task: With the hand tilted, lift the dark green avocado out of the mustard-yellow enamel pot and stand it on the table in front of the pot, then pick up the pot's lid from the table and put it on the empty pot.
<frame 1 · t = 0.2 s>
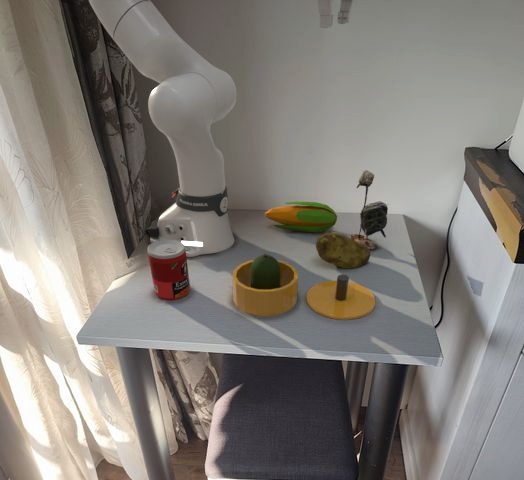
hand: (334, 25, 82), 48 cm above the table, tool pointing down, fingers open, 8 cm apart
canned food: (172, 293, 103), on the table
potato: (341, 265, 113), on the table
lid: (340, 300, 99), point 1 cm above the table
pot: (265, 300, 101), on the table
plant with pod: (363, 247, 121), on the table
avocado: (265, 298, 100), resting on pot
corn: (299, 229, 129), on the table
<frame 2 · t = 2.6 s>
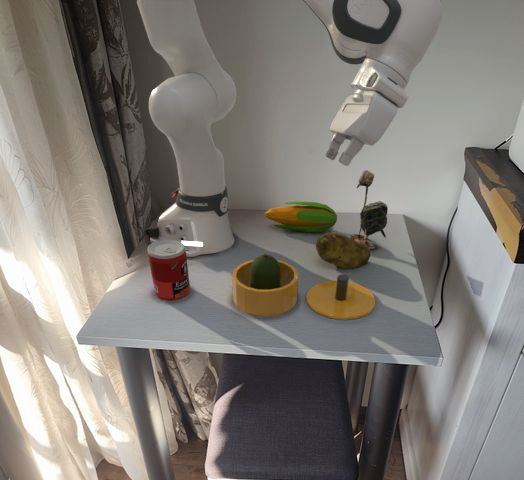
hand: (335, 161, 89), 27 cm above the table, tool tilted 30°, fingers open, 8 cm apart
nothing on the table moved.
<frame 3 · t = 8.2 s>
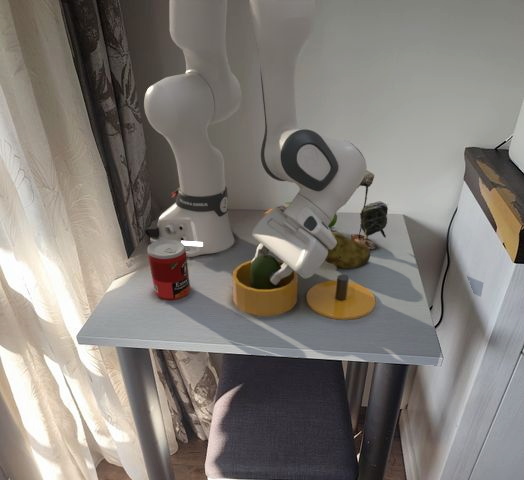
hand: (262, 274, 96), 7 cm above the table, tool tilted 45°, fingers closed on avocado, 6 cm apart
avocado: (265, 298, 100), resting on pot, touching gripper
everything else where it was.
when the fingers open (6 cm above the table, at t = 16.4 s): avocado stays where it is, on the table.
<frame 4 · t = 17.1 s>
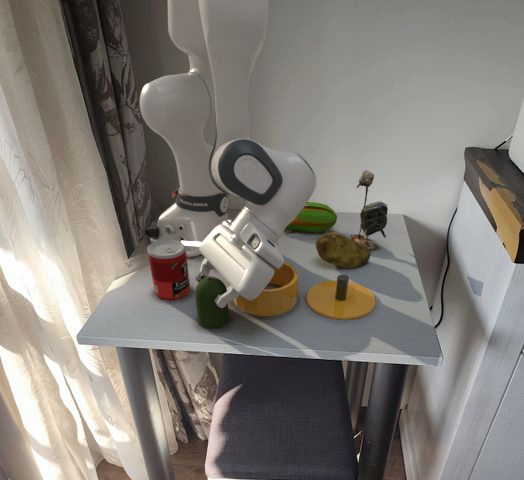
hand: (208, 293, 90), 7 cm above the table, tool tilted 45°, fingers open, 8 cm apart
avocado: (213, 322, 94), on the table
everything else where it was.
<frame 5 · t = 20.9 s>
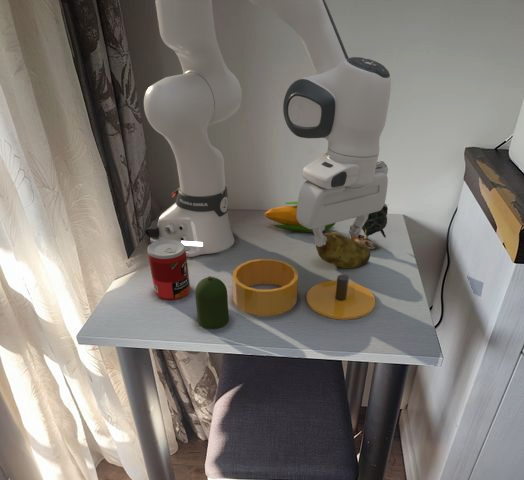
hand: (337, 239, 91), 15 cm above the table, tool pointing down, fingers open, 8 cm apart
nothing on the table moved.
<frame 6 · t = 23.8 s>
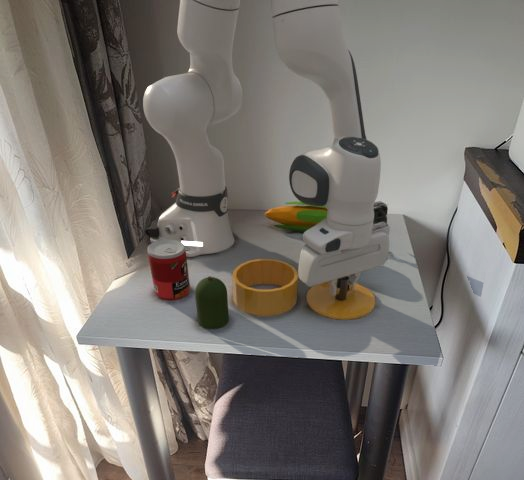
hand: (341, 291, 98), 3 cm above the table, tool pointing down, fingers closed on lid, 2 cm apart
lid: (340, 300, 99), point 1 cm above the table, touching gripper
everything else where it was.
when the fingers open (8 cm above the table, at t = 30.5 s): lid stays where it is, resting on pot.
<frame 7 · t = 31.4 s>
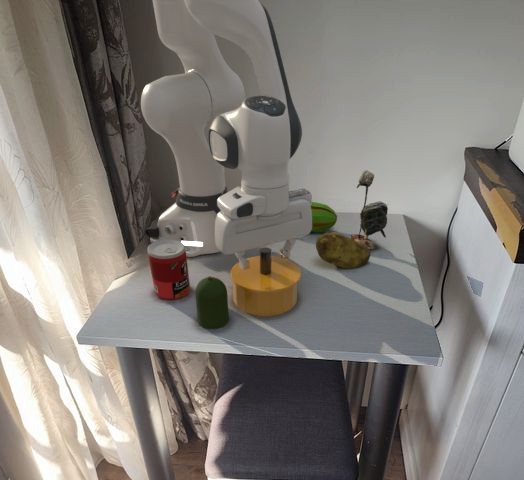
hand: (265, 262, 95), 9 cm above the table, tool pointing down, fingers open, 8 cm apart
lid: (265, 274, 97), point 6 cm above the table, touching pot
everything else where it was.
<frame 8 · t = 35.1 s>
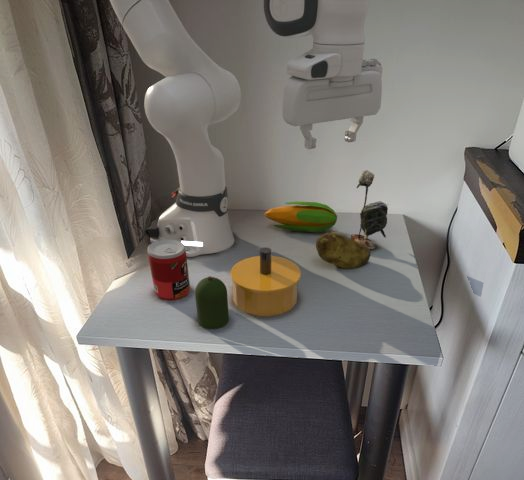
hand: (330, 144, 91), 29 cm above the table, tool pointing down, fingers open, 8 cm apart
nothing on the table moved.
at the end: avocado inside the target area (0.1 cm from its centre), on the table; lid 0.1 cm off-centre on the pot, point 6.4 cm above the pot's base; lid tilted 0° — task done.
